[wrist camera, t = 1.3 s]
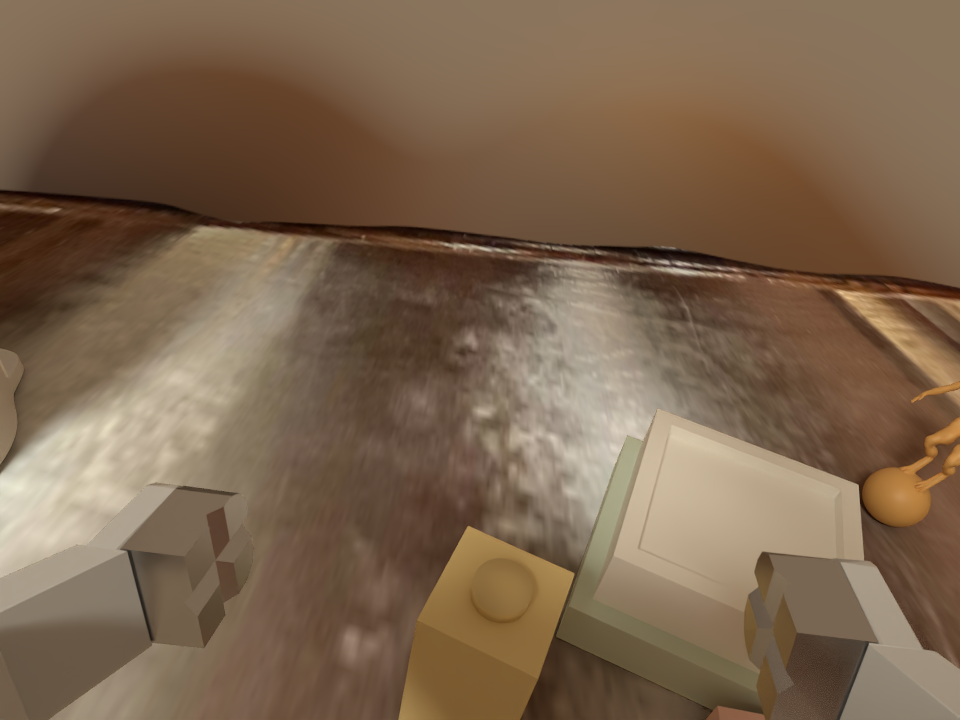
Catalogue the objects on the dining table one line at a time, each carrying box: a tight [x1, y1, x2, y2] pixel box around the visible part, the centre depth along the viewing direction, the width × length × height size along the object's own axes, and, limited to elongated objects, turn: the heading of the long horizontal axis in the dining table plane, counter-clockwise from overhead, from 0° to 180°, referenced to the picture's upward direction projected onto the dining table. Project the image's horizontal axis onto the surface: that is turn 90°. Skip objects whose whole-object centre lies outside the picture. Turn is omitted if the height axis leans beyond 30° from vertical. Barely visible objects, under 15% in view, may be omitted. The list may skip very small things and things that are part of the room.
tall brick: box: [399, 526, 575, 720], centre depth 30 cm, size 5×5×10 cm
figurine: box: [862, 381, 960, 527], centre depth 43 cm, size 8×6×12 cm
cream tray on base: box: [556, 409, 864, 715], centre depth 37 cm, size 14×14×7 cm
